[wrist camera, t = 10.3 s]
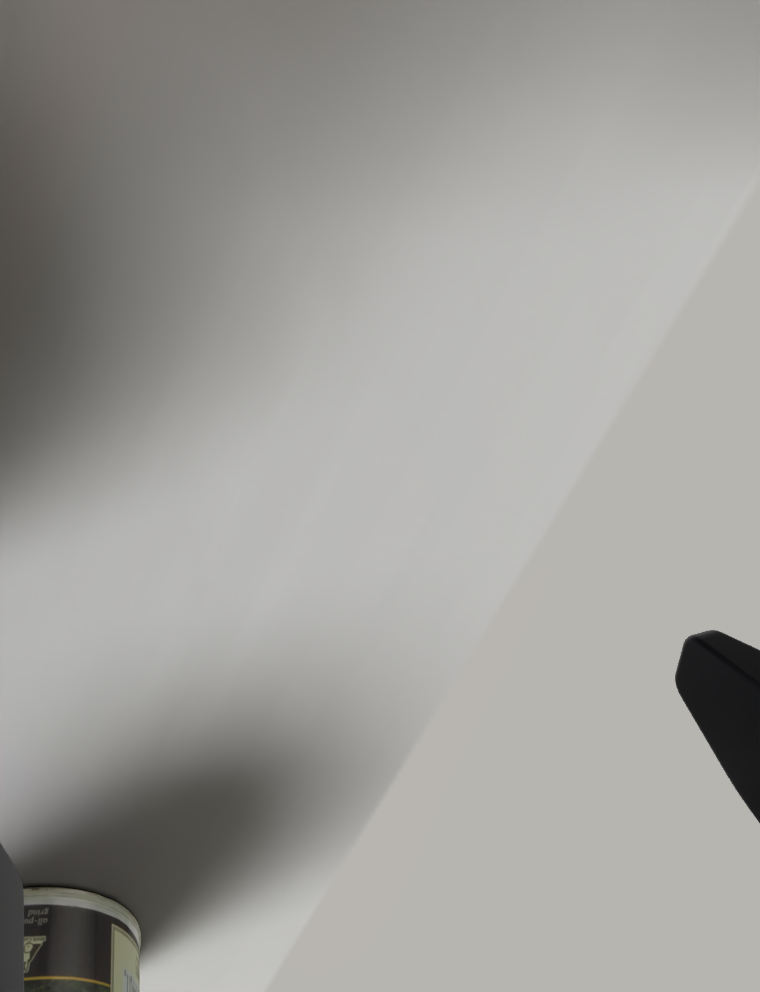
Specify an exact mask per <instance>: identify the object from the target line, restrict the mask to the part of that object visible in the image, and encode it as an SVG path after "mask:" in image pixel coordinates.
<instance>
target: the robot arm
mask: <svg viewBox="0 0 760 992" xmlns="http://www.w3.org/2000/svg"><path fill="white" fill-rule="evenodd" d="M675 681H676V686H677V689H678V692H679V694H680V695H681V697H682V699H683V701H684V702H685V704H686V706H687V707H688V709H689V711H690V712H691V714H692V716H693V718H694V719H695V721H696V723H697V725H698V726H699V728H700V730H701V731H702V733H703V735H704V736H705V738H706V740H707V742H708V743H709V745H710V747H711V749H712V750H713V752H714V754H715V755H716V757H717V759H718V761H719V762H720V764H721V766H722V767H723V769H724V771H725V772H726V774H727V776H728V777H729V779H730V781H731V782H732V784H733V785H734V787H735V789H736V790H737V792H738V793H739V795H740V796H741V797H742V799H743V800H744V802H745V803H746V805H747V806H748V808H749V809H750V810H751V812H752V813H753V814H754V816H755V817H756V819H757V820H758V821H759V823H760V650H758V649H756V648H754V647H752V646H750V645H747V644H745V643H743V642H741V641H739V640H737V639H735V638H732V637H730V636H728V635H726V634H724V633H721V632H719V631H715V630H710V631H705V632H702V633H698V634H695V635H691V636H689V637H688V638H687V639H686V640H685V642H684V644H683V648H682V652H681V656H680V660H679V663H678V667H677V671H676V675H675ZM0 992H24V891H23V884H22V879H21V876H20V874H19V872H18V870H17V869H16V867H15V866H14V864H13V862H12V861H11V859H10V857H9V856H8V854H7V852H6V851H5V849H4V848H3V846H2V844H1V843H0Z"/></svg>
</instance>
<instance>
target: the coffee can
mask: <svg viewBox="0 0 760 992" xmlns="http://www.w3.org/2000/svg"><path fill="white" fill-rule="evenodd" d="M23 891H24V992H140V986H139V952H140V946H141V932H140V928H139V925H138V923H137V921H136V919H135V918H134V916H133V915H132V914H131V913H130V912H129V911H128V910H127V909H126V908H124V907H123V906H122V905H120V904H119V903H118V902H116V901H114V900H112V899H108V898H105V897H103V896H101V895H98V894H96V893H91V892H87V891H83V890H78V889H70V888H59V887H30V888H23Z"/></svg>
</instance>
